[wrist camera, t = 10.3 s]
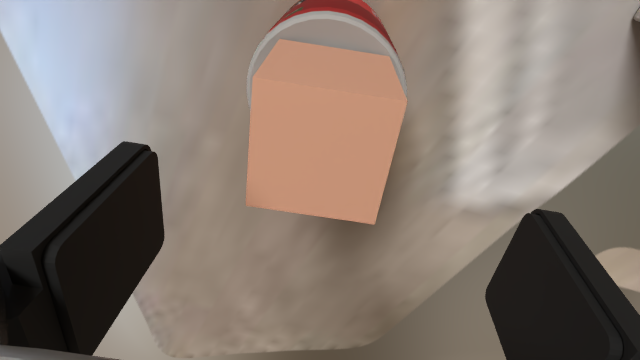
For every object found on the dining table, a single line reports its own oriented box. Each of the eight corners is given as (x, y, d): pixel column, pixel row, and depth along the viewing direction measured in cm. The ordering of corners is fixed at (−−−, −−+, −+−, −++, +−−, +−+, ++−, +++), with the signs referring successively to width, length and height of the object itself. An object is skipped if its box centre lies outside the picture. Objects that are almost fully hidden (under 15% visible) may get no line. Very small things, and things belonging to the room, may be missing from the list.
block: (389, 56, 18) (407, 101, 13) (367, 154, 20) (374, 224, 15) (279, 38, 18) (252, 77, 13) (270, 139, 20) (245, 205, 15)
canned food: (296, -30, 26) (268, -16, 17) (406, 15, 27) (440, 53, 18) (265, 78, 30) (227, 139, 20) (362, 114, 31) (370, 188, 21)
